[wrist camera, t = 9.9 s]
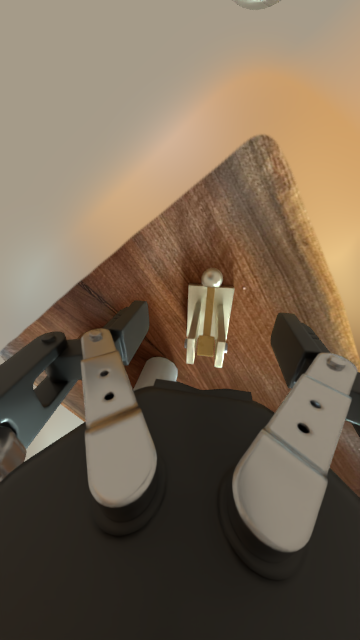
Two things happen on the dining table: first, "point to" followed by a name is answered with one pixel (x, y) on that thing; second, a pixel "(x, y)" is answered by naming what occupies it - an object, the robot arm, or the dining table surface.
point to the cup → (156, 372)
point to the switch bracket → (219, 319)
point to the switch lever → (209, 310)
